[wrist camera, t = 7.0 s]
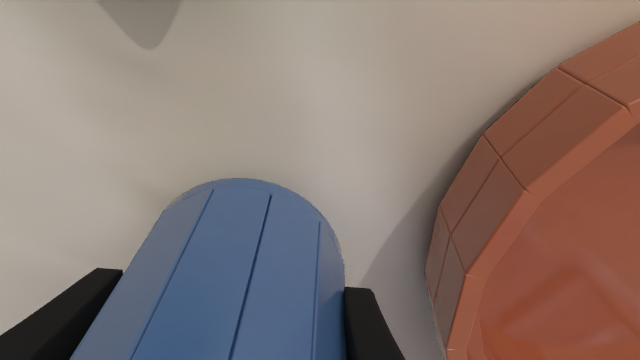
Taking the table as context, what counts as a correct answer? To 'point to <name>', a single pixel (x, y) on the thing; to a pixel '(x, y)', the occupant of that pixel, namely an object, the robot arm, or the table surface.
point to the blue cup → (228, 282)
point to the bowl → (548, 221)
